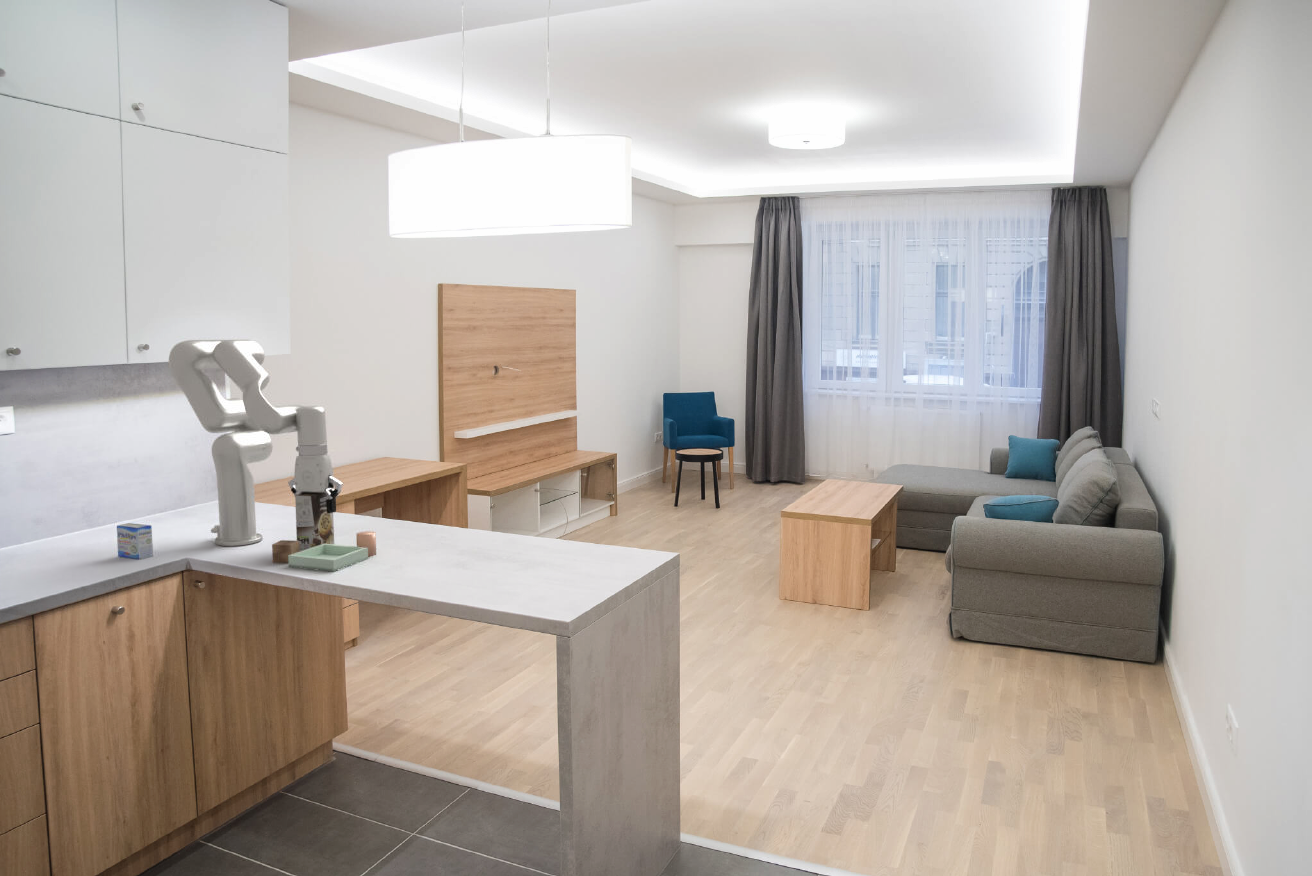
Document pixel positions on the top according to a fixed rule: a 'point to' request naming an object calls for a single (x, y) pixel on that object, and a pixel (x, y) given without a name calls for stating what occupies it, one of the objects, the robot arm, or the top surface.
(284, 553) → the walnut block
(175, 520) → the top surface
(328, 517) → the coffee box
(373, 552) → the light brown rounded block
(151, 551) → the medicine box
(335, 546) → the tray
